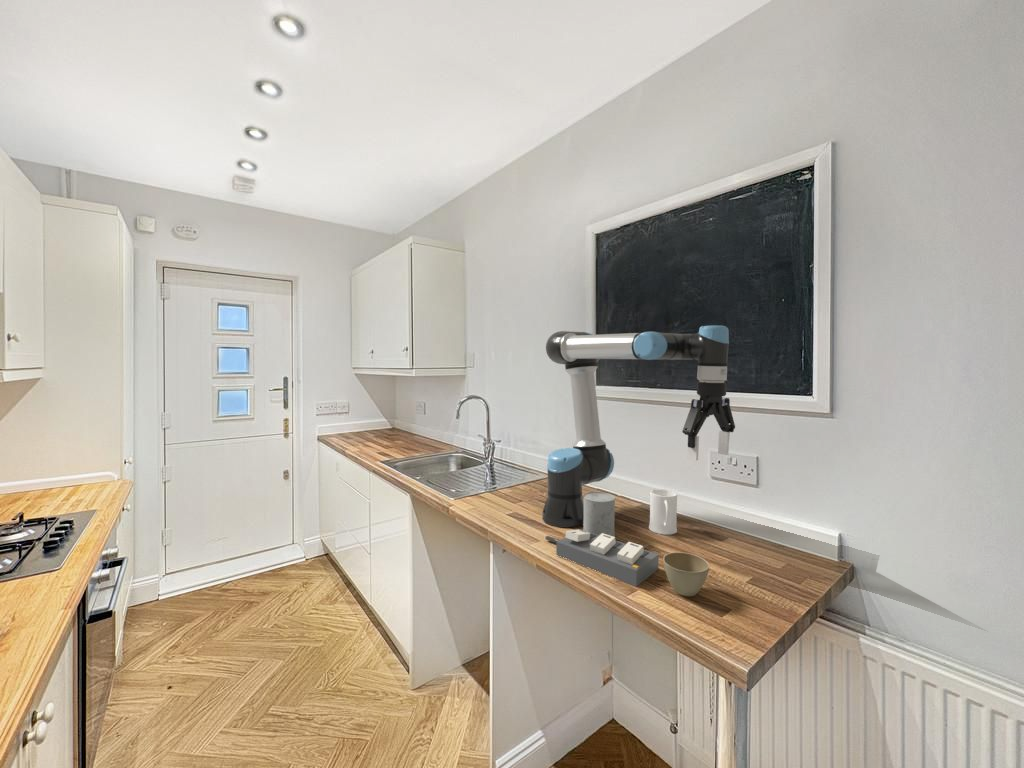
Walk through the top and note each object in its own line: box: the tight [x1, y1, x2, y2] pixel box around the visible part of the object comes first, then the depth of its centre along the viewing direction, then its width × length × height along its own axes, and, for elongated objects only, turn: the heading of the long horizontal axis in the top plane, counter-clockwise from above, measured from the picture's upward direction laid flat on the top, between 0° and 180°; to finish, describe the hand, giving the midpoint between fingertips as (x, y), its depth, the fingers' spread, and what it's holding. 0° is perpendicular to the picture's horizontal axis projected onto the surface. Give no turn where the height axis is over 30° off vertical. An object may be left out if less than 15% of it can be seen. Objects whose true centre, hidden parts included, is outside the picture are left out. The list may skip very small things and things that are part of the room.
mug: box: [648, 488, 678, 536], centre depth 138 cm, size 12×8×12 cm
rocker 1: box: [564, 529, 590, 542], centre depth 121 cm, size 4×6×2 cm, turn 137°
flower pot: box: [662, 551, 710, 597], centre depth 102 cm, size 10×10×7 cm
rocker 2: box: [590, 533, 617, 555], centre depth 116 cm, size 4×6×2 cm, turn 137°
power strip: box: [545, 529, 660, 588], centre depth 120 cm, size 33×12×4 cm, turn 47°
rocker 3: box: [617, 541, 645, 565], centre depth 110 cm, size 4×6×2 cm, turn 137°
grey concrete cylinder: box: [582, 491, 616, 538], centre depth 134 cm, size 10×10×12 cm
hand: (708, 456), depth 123 cm, fingers open, 13 cm apart
